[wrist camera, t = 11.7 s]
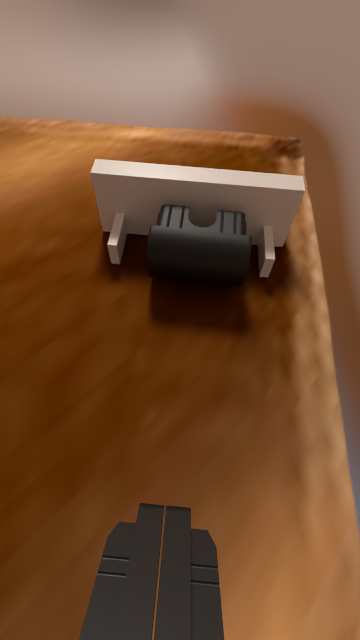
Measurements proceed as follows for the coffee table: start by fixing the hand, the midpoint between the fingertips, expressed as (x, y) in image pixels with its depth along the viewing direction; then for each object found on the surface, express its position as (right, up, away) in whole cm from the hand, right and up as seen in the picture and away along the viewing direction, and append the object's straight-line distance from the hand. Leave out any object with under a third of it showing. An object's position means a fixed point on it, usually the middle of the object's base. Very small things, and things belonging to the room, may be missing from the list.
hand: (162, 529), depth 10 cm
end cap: (+2, +12, +29) cm, 31 cm away
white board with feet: (+2, +15, +31) cm, 34 cm away
